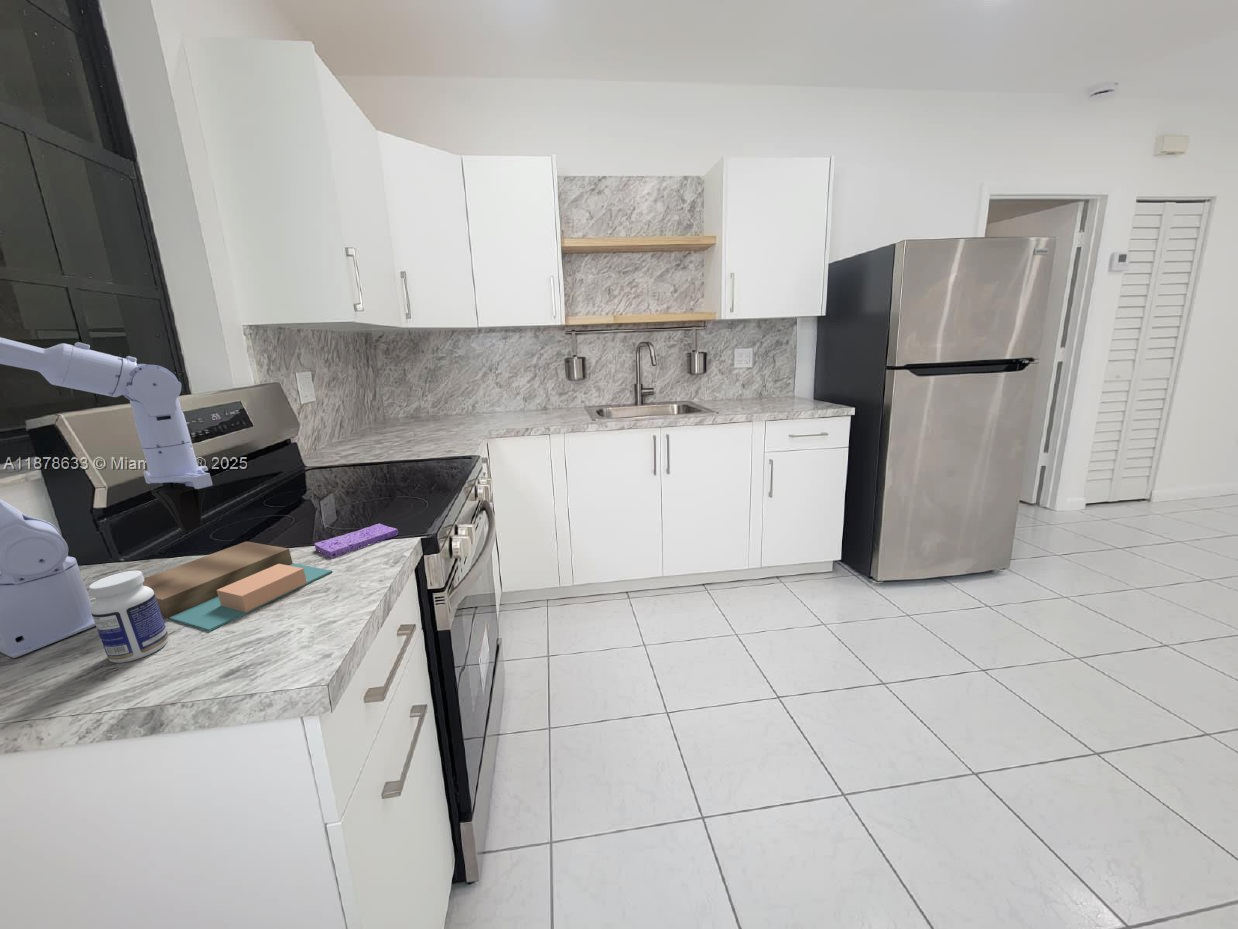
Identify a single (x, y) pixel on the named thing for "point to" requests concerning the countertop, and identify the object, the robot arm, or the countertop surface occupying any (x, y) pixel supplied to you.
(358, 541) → the sponges
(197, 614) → the teal mat
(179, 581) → the board
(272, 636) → the countertop surface
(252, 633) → the countertop surface
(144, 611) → the pill bottle
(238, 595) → the tile
